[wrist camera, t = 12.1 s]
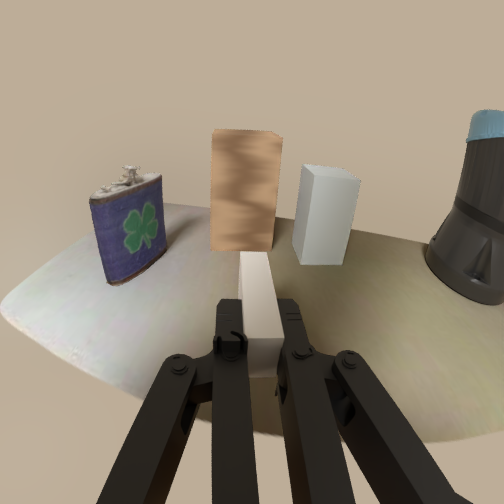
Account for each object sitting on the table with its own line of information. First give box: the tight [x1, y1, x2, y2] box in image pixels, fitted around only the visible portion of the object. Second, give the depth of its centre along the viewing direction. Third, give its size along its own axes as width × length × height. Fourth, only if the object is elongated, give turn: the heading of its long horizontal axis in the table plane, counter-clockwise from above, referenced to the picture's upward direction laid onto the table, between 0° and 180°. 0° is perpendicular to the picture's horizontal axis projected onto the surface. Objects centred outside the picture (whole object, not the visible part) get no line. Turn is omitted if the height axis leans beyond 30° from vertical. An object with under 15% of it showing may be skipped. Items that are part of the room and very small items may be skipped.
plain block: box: [210, 129, 283, 251], centre depth 32 cm, size 7×7×13 cm
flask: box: [89, 165, 167, 286], centre depth 25 cm, size 9×3×11 cm, turn 157°
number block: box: [292, 164, 361, 265], centre depth 30 cm, size 5×5×10 cm
